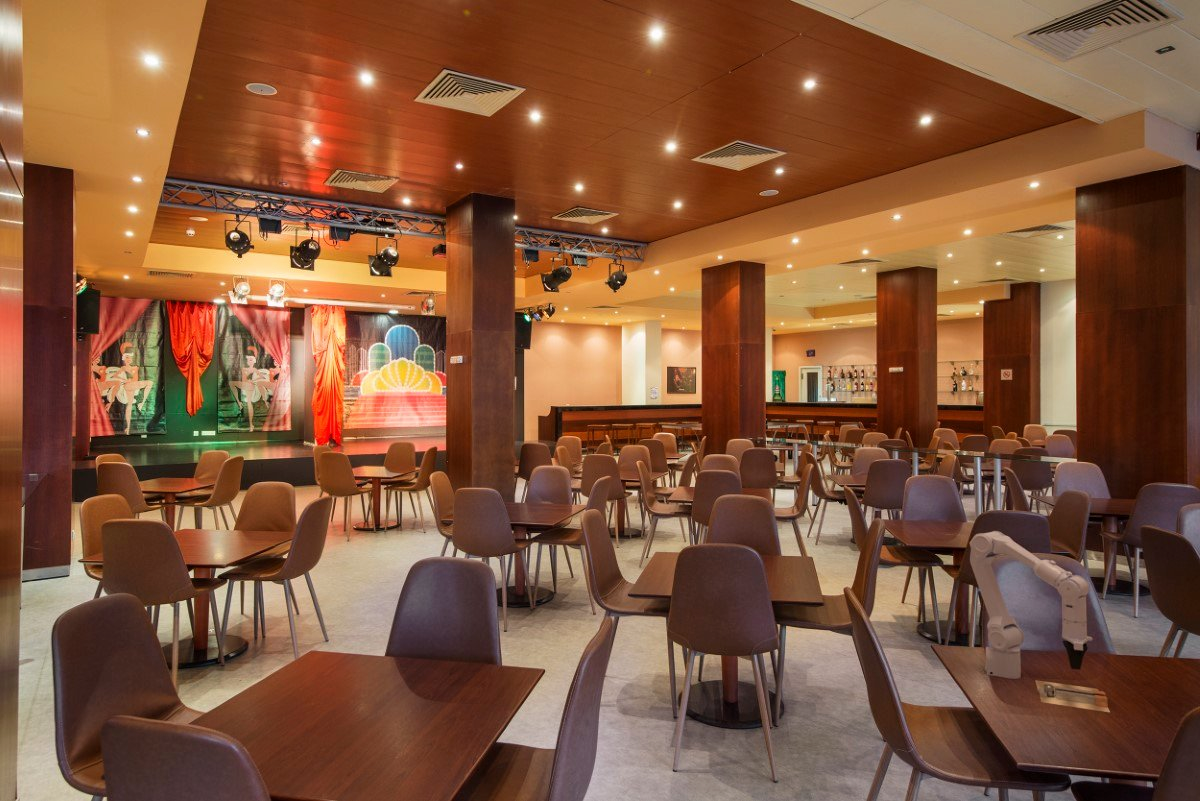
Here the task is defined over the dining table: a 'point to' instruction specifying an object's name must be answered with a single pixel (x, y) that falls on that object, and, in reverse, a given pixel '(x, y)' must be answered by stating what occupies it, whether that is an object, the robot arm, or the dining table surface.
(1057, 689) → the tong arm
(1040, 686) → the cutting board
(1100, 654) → the dining table surface
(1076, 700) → the tongs fixed
